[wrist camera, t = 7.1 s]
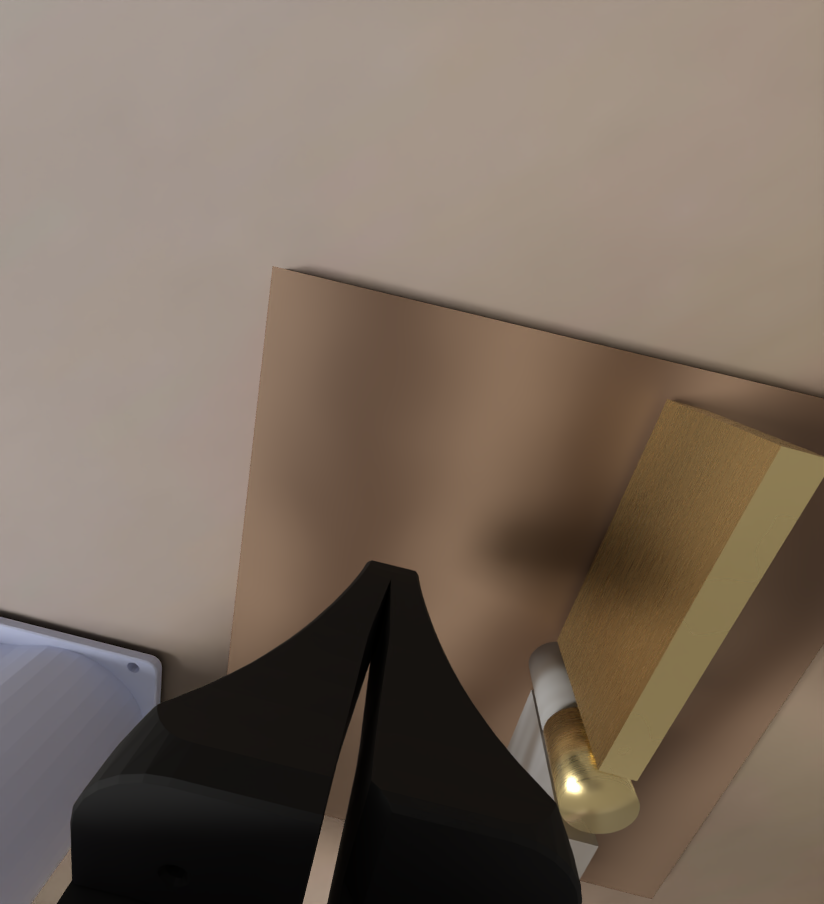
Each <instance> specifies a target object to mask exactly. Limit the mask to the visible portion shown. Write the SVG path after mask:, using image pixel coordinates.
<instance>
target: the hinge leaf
mask: <svg viewBox="0 0 824 904" xmlns="http://www.w3.org/2000/svg"><path fill="white" fill-rule="evenodd" d="M823 478H824V456H822V455H819V454H817V453H814V452H812V451H809V450H807V449H804V448H801V447H799V446H796V445H794V444H791V443H789V442H786V441H784V440H781V439H779V438H776V437H773V436H771V435H768V434H766V433H763V432H761V431H758V430H756V429H753V428H750V427H748V426H745V425H743V424H740V423H738V422H735V421H733V420H730V419H728V418H725V417H722V416H720V415H717V414H715V413H712V412H710V411H707V410H705V409H702V408H699V407H695V406H691V405H687V404H684V403H680V402H676V401H673V400H669V399H667V401H666V403H665V405H664V407H663V409H662V412H661V414H660V416H659V418H658V420H657V423H656V425H655V427H654V429H653V431H652V434H651V436H650V438H649V440H648V442H647V445H646V447H645V449H644V451H643V453H642V456H641V458H640V460H639V462H638V464H637V466H636V469H635V471H634V473H633V475H632V477H631V480H630V482H629V484H628V486H627V488H626V491H625V493H624V495H623V497H622V499H621V502H620V504H619V506H618V508H617V510H616V513H615V515H614V517H613V519H612V521H611V523H610V526H609V528H608V530H607V532H606V534H605V537H604V539H603V541H602V543H601V545H600V548H599V550H598V552H597V554H596V556H595V559H594V561H593V563H592V565H591V567H590V570H589V572H588V574H587V576H586V578H585V580H584V583H583V585H582V587H581V589H580V591H579V594H578V596H577V598H576V600H575V602H574V605H573V607H572V609H571V611H570V613H569V616H568V618H567V620H566V622H565V624H564V627H563V629H562V631H561V633H560V635H559V637H558V640H557V642H558V645H559V648H560V652H561V655H562V658H563V661H564V664H565V667H566V671H567V674H568V677H569V680H570V683H571V686H572V689H573V693H574V696H575V699H576V702H577V705H578V707H571V708H566V709H563V710H560V711H558V712H556V713H555V714H553V715H552V716H551V717H550V718H549V719H548V720H547V722H546V723H545V726H544V729H543V735H544V740H545V745H546V749H547V754H548V759H549V763H550V768H551V773H552V777H553V782H554V787H555V791H556V796H557V800H558V805H559V810H560V813H561V815H562V817H563V819H564V820H565V821H566V822H567V823H568V824H569V825H571V826H572V827H574V828H576V829H578V830H580V831H583V832H587V833H593V834H607V833H612V832H616V831H619V830H622V829H624V828H626V827H627V826H629V825H630V824H631V823H632V822H633V821H634V820H635V819H636V818H637V816H638V814H639V810H640V803H639V800H638V797H637V794H636V792H635V789H634V787H633V784H632V781H631V780H634V781H637V780H638V779H639V777H640V776H641V774H642V772H643V771H644V769H645V767H646V766H647V764H648V763H649V761H650V759H651V758H652V756H653V754H654V753H655V751H656V750H657V748H658V746H659V745H660V743H661V741H662V740H663V738H664V736H665V735H666V733H667V732H668V730H669V728H670V727H671V725H672V723H673V722H674V720H675V719H676V717H677V715H678V714H679V712H680V710H681V709H682V707H683V706H684V704H685V702H686V701H687V699H688V697H689V696H690V694H691V693H692V691H693V689H694V688H695V686H696V684H697V683H698V681H699V679H700V678H701V676H702V675H703V673H704V671H705V670H706V668H707V666H708V665H709V663H710V662H711V660H712V658H713V657H714V655H715V653H716V652H717V650H718V649H719V647H720V645H721V644H722V642H723V640H724V639H725V637H726V636H727V634H728V632H729V631H730V629H731V627H732V626H733V624H734V623H735V621H736V619H737V618H738V616H739V614H740V613H741V611H742V609H743V608H744V606H745V605H746V603H747V601H748V600H749V598H750V596H751V595H752V593H753V592H754V590H755V588H756V587H757V585H758V583H759V582H760V580H761V579H762V577H763V575H764V574H765V572H766V570H767V569H768V567H769V566H770V564H771V562H772V561H773V559H774V557H775V556H776V554H777V552H778V551H779V549H780V548H781V546H782V544H783V543H784V541H785V539H786V538H787V536H788V535H789V533H790V531H791V530H792V528H793V526H794V525H795V523H796V522H797V520H798V518H799V517H800V515H801V513H802V512H803V510H804V509H805V507H806V505H807V504H808V502H809V500H810V499H811V497H812V496H813V494H814V492H815V491H816V489H817V487H818V486H819V484H820V482H821V481H822V479H823Z"/></svg>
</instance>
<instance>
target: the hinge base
mask: <svg viewBox="0 0 824 904" xmlns="http://www.w3.org/2000/svg"><path fill="white" fill-rule="evenodd" d="M667 399H669V400H673V401H676V402H680V403H684V404H687V405H691V406H695V407H699V408H702V409H705V410H707V411H710V412H712V413H715V414H717V415H720V416H722V417H725V418H728V419H730V420H733V421H735V422H738V423H740V424H743V425H745V426H748V427H750V428H753V429H756V430H758V431H761V432H763V433H766V434H768V435H771V436H773V437H776V438H779V439H781V440H784V441H786V442H789V443H791V444H794V445H796V446H799V447H801V448H804V449H807V450H809V451H812V452H814V453H817V454H819V455H822V456H824V398H819V397H815V396H811V395H807V394H803V393H799V392H794V391H790V390H786V389H782V388H778V387H774V386H769V385H765V384H761V383H757V382H753V381H749V380H744V379H740V378H736V377H732V376H728V375H724V374H719V373H715V372H711V371H707V370H703V369H699V368H694V367H690V366H686V365H682V364H678V363H674V362H669V361H665V360H661V359H657V358H653V357H649V356H644V355H640V354H636V353H632V352H628V351H624V350H620V349H615V348H611V347H607V346H603V345H599V344H595V343H590V342H586V341H582V340H578V339H574V338H570V337H565V336H561V335H557V334H553V333H549V332H545V331H540V330H536V329H532V328H528V327H524V326H520V325H515V324H511V323H507V322H503V321H499V320H495V319H490V318H486V317H482V316H478V315H474V314H470V313H465V312H461V311H457V310H453V309H449V308H445V307H440V306H436V305H432V304H428V303H424V302H420V301H415V300H411V299H407V298H403V297H399V296H395V295H391V294H386V293H382V292H378V291H374V290H370V289H366V288H361V287H357V286H353V285H349V284H345V283H341V282H336V281H332V280H328V279H324V278H320V277H316V276H311V275H307V274H303V273H299V272H295V271H291V270H286V269H282V268H278V267H274V266H273V268H272V277H271V286H270V295H269V303H268V312H267V321H266V330H265V339H264V348H263V357H262V366H261V375H260V384H259V393H258V401H257V410H256V419H255V428H254V437H253V446H252V455H251V464H250V473H249V482H248V491H247V499H246V508H245V517H244V526H243V535H242V544H241V553H240V562H239V571H238V580H237V589H236V598H235V606H234V615H233V624H232V633H231V642H230V651H229V660H228V669H227V675H228V674H230V673H232V672H234V671H236V670H238V669H240V668H242V667H244V666H246V665H248V664H249V663H251V662H253V661H255V660H256V659H258V658H260V657H261V656H263V655H265V654H266V653H268V652H269V651H271V650H273V649H274V648H276V647H277V646H279V645H280V644H282V643H283V642H285V641H286V640H288V639H289V638H291V637H292V636H293V635H295V634H296V633H297V632H299V631H300V630H301V629H303V628H304V627H305V626H307V625H308V624H309V623H310V622H312V621H313V620H314V619H315V618H316V617H317V616H318V615H320V614H321V613H322V612H323V611H324V610H325V609H326V608H327V607H329V606H330V605H331V604H332V603H333V602H334V601H335V600H336V599H337V598H338V597H339V596H340V595H341V594H342V593H343V592H344V591H345V590H346V589H347V588H348V586H349V585H350V584H351V583H352V582H353V581H354V580H355V578H356V577H357V576H358V575H359V573H360V572H361V571H362V569H363V568H364V566H365V565H366V563H367V562H369V561H371V560H373V561H377V562H381V563H385V564H390V565H394V566H398V567H402V568H406V569H410V570H414V571H416V572H417V574H418V575H419V581H420V586H421V590H422V594H423V598H424V601H425V604H426V607H427V610H428V613H429V616H430V619H431V621H432V624H433V627H434V629H435V632H436V634H437V637H438V639H439V641H440V644H441V646H442V648H443V650H444V652H445V655H446V657H447V659H448V661H449V663H450V665H451V667H452V668H453V670H454V672H455V674H456V676H457V678H458V679H459V681H460V683H461V685H462V686H463V688H464V690H465V691H466V693H467V694H468V696H469V698H470V699H471V701H472V703H473V704H474V705H475V707H476V708H477V710H478V711H479V712H480V714H481V715H482V717H483V718H484V720H485V721H486V722H487V724H488V725H489V727H490V728H491V729H492V731H493V732H494V733H495V735H496V736H497V737H498V738H499V740H500V741H501V742H502V743H503V745H504V746H505V747H506V748H507V749H508V751H509V752H510V753H511V754H512V755H513V757H514V758H515V759H516V760H517V761H518V763H519V764H520V765H521V766H522V767H523V768H524V769H525V770H526V771H527V772H528V773H529V774H530V775H531V776H532V778H533V779H534V780H535V781H536V782H537V783H538V784H539V785H540V786H541V787H542V788H543V789H544V790H545V791H546V792H547V794H548V795H549V796H550V797H551V798H552V799H553V800H554V801H555V802H556V803H557V806H558V809H559V805H558V800H557V796H556V791H555V787H554V782H553V777H552V773H551V768H550V763H549V759H548V754H547V749H546V745H545V740H544V735H543V729H544V726H545V723H546V722H547V720H548V719H549V718H550V717H551V716H552V715H553V714H555V713H556V712H558V711H560V710H563V709H566V708H571V707H578V705H577V702H576V699H575V696H574V693H573V689H572V686H571V683H570V680H569V677H568V674H567V671H566V667H565V664H564V661H563V658H562V655H561V652H560V648H559V645H558V642H557V640H558V637H559V635H560V633H561V631H562V629H563V627H564V624H565V622H566V620H567V618H568V616H569V613H570V611H571V609H572V607H573V605H574V602H575V600H576V598H577V596H578V594H579V591H580V589H581V587H582V585H583V583H584V580H585V578H586V576H587V574H588V572H589V570H590V567H591V565H592V563H593V561H594V559H595V556H596V554H597V552H598V550H599V548H600V545H601V543H602V541H603V539H604V537H605V534H606V532H607V530H608V528H609V526H610V523H611V521H612V519H613V517H614V515H615V513H616V510H617V508H618V506H619V504H620V502H621V499H622V497H623V495H624V493H625V491H626V488H627V486H628V484H629V482H630V480H631V477H632V475H633V473H634V471H635V469H636V466H637V464H638V462H639V460H640V458H641V456H642V453H643V451H644V449H645V447H646V445H647V442H648V440H649V438H650V436H651V434H652V431H653V429H654V427H655V425H656V423H657V420H658V418H659V416H660V414H661V412H662V409H663V407H664V405H665V403H666V401H667ZM823 644H824V478H823V479H822V481H821V482H820V484H819V486H818V487H817V489H816V491H815V492H814V494H813V496H812V497H811V499H810V500H809V502H808V504H807V505H806V507H805V509H804V510H803V512H802V513H801V515H800V517H799V518H798V520H797V522H796V523H795V525H794V526H793V528H792V530H791V531H790V533H789V535H788V536H787V538H786V539H785V541H784V543H783V544H782V546H781V548H780V549H779V551H778V552H777V554H776V556H775V557H774V559H773V561H772V562H771V564H770V566H769V567H768V569H767V570H766V572H765V574H764V575H763V577H762V579H761V580H760V582H759V583H758V585H757V587H756V588H755V590H754V592H753V593H752V595H751V596H750V598H749V600H748V601H747V603H746V605H745V606H744V608H743V609H742V611H741V613H740V614H739V616H738V618H737V619H736V621H735V623H734V624H733V626H732V627H731V629H730V631H729V632H728V634H727V636H726V637H725V639H724V640H723V642H722V644H721V645H720V647H719V649H718V650H717V652H716V653H715V655H714V657H713V658H712V660H711V662H710V663H709V665H708V666H707V668H706V670H705V671H704V673H703V675H702V676H701V678H700V679H699V681H698V683H697V684H696V686H695V688H694V689H693V691H692V693H691V694H690V696H689V697H688V699H687V701H686V702H685V704H684V706H683V707H682V709H681V710H680V712H679V714H678V715H677V717H676V719H675V720H674V722H673V723H672V725H671V727H670V728H669V730H668V732H667V733H666V735H665V736H664V738H663V740H662V741H661V743H660V745H659V746H658V748H657V750H656V751H655V753H654V754H653V756H652V758H651V759H650V761H649V763H648V764H647V766H646V767H645V769H644V771H643V772H642V774H641V776H640V777H639V779H638V780H637V781H634V780H631V781H632V784H633V787H634V789H635V792H636V794H637V797H638V800H639V803H640V810H639V814H638V816H637V818H636V819H635V820H634V821H633V822H632V823H631V824H630V825H629V826H627V827H626V828H624V829H622V830H619V831H616V832H612V833H607V834H593V833H587V832H583V831H580V830H578V829H576V828H574V827H572V826H571V825H569V824H568V823H567V822H566V821H565V820H564V819H563V817H562V815H561V813H560V815H561V818H562V821H563V823H564V826H565V829H566V832H567V835H568V838H569V842H570V845H571V848H572V851H573V855H574V858H575V863H576V867H577V871H578V876H579V880H580V881H584V882H587V883H591V884H595V885H599V886H603V887H607V888H611V889H615V890H619V891H623V892H626V893H630V894H634V895H638V896H642V897H646V898H650V899H652V898H653V897H654V895H655V894H656V892H657V891H658V889H659V888H660V886H661V885H662V883H663V882H664V880H665V879H666V877H667V876H668V874H669V873H670V871H671V870H672V868H673V867H674V865H675V864H676V862H677V861H678V859H679V858H680V856H681V855H682V853H683V852H684V850H685V849H686V848H687V846H688V845H689V843H690V842H691V840H692V839H693V837H694V836H695V834H696V833H697V831H698V830H699V828H700V827H701V825H702V824H703V822H704V821H705V819H706V818H707V816H708V815H709V813H710V812H711V810H712V809H713V807H714V806H715V804H716V803H717V801H718V800H719V798H720V797H721V795H722V794H723V792H724V791H725V789H726V788H727V787H728V785H729V784H730V782H731V781H732V779H733V778H734V776H735V775H736V773H737V772H738V770H739V769H740V767H741V766H742V764H743V763H744V761H745V760H746V758H747V757H748V755H749V754H750V752H751V751H752V749H753V748H754V746H755V745H756V743H757V742H758V740H759V739H760V737H761V736H762V734H763V733H764V731H765V730H766V728H767V727H768V726H769V724H770V723H771V721H772V720H773V718H774V717H775V715H776V714H777V712H778V711H779V709H780V708H781V706H782V705H783V703H784V702H785V700H786V699H787V697H788V696H789V694H790V693H791V691H792V690H793V688H794V687H795V685H796V684H797V682H798V681H799V679H800V678H801V676H802V675H803V673H804V672H805V670H806V669H807V667H808V666H809V665H810V663H811V662H812V660H813V659H814V657H815V656H816V654H817V653H818V651H819V650H820V648H821V647H822V645H823ZM369 667H370V664H369ZM369 667H368V670H367V673H366V676H365V679H364V682H363V685H362V688H361V691H360V694H359V697H358V700H357V703H356V706H355V709H354V712H353V715H352V718H351V721H350V724H349V727H348V730H347V733H346V736H345V739H344V742H343V745H342V748H341V752H340V755H339V759H338V762H337V766H336V770H335V774H334V778H333V782H332V786H331V790H330V794H329V798H328V802H327V806H326V810H325V814H324V815H326V816H330V817H334V818H338V819H342V820H345V818H346V814H347V809H348V804H349V799H350V795H351V790H352V785H353V780H354V776H355V771H356V765H357V759H358V753H359V746H360V738H361V730H362V722H363V714H364V706H365V698H366V690H367V683H368V675H369ZM559 812H560V810H559Z"/></svg>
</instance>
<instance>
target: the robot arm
mask: <svg viewBox="0 0 824 904" xmlns="http://www.w3.org/2000/svg"><path fill="white" fill-rule="evenodd" d="M369 664H370V667H369ZM368 667H369V675H368V683H367V690H366V698H365V706H364V714H363V722H362V730H361V738H360V746H359V753H358V759H357V765H356V771H355V776H354V780H353V785H352V790H351V795H350V799H349V804H348V809H347V814H346V818H345V823H344V828H343V832H342V837H341V842H340V846H339V851H338V856H337V861H336V865H335V870H334V875H333V879H332V884H331V889H330V893H329V898H328V903H327V904H582V895H581V884H580V880H579V876H578V871H577V867H576V863H575V858H574V855H573V851H572V848H571V845H570V842H569V838H568V835H567V832H566V829H565V826H564V823H563V821H562V818H561V815H560V812H559V809H558V806H557V803H556V802H555V801H554V800H553V799H552V798H551V797H550V796H549V795H548V794H547V792H546V791H545V790H544V789H543V788H542V787H541V786H540V785H539V784H538V783H537V782H536V781H535V780H534V779H533V778H532V776H531V775H530V774H529V773H528V772H527V771H526V770H525V769H524V768H523V767H522V766H521V765H520V764H519V763H518V761H517V760H516V759H515V758H514V757H513V755H512V754H511V753H510V752H509V751H508V749H507V748H506V747H505V746H504V745H503V743H502V742H501V741H500V740H499V738H498V737H497V736H496V735H495V733H494V732H493V731H492V729H491V728H490V727H489V725H488V724H487V722H486V721H485V720H484V718H483V717H482V715H481V714H480V712H479V711H478V710H477V708H476V707H475V705H474V704H473V703H472V701H471V699H470V698H469V696H468V694H467V693H466V691H465V690H464V688H463V686H462V685H461V683H460V681H459V679H458V678H457V676H456V674H455V672H454V670H453V668H452V667H451V665H450V663H449V661H448V659H447V657H446V655H445V652H444V650H443V648H442V646H441V644H440V641H439V639H438V637H437V634H436V632H435V629H434V627H433V624H432V621H431V619H430V616H429V613H428V610H427V607H426V604H425V601H424V598H423V594H422V590H421V586H420V581H419V575H418V574H417V572H416V571H414V570H410V569H406V568H402V567H398V566H394V565H390V564H385V563H381V562H377V561H373V560H371V561H369V562H367V563H366V565H365V566H364V568H363V569H362V571H361V572H360V573H359V575H358V576H357V577H356V578H355V580H354V581H353V582H352V583H351V584H350V585H349V586H348V588H347V589H346V590H345V591H344V592H343V593H342V594H341V595H340V596H339V597H338V598H337V599H336V600H335V601H334V602H333V603H332V604H331V605H330V606H329V607H327V608H326V609H325V610H324V611H323V612H322V613H321V614H320V615H318V616H317V617H316V618H315V619H314V620H313V621H312V622H310V623H309V624H308V625H307V626H305V627H304V628H303V629H301V630H300V631H299V632H297V633H296V634H295V635H293V636H292V637H291V638H289V639H288V640H286V641H285V642H283V643H282V644H280V645H279V646H277V647H276V648H274V649H273V650H271V651H269V652H268V653H266V654H265V655H263V656H261V657H260V658H258V659H256V660H255V661H253V662H251V663H249V664H248V665H246V666H244V667H242V668H240V669H238V670H236V671H234V672H232V673H230V674H228V675H226V676H224V677H222V678H220V679H219V680H217V681H214V682H212V683H210V684H208V685H206V686H204V687H201V688H199V689H196V690H194V691H191V692H189V693H186V694H184V695H181V696H179V697H176V698H174V699H171V700H169V701H166V702H163V703H160V696H161V676H162V665H161V662H160V660H159V659H158V658H157V657H155V656H153V655H150V654H146V653H142V652H138V651H134V650H130V649H126V648H122V647H118V646H114V645H110V644H106V643H102V642H98V641H94V640H90V639H86V638H83V637H79V636H75V635H71V634H67V633H63V632H59V631H55V630H51V629H47V628H43V627H39V626H35V625H31V624H27V623H23V622H19V621H15V620H11V619H7V618H3V617H0V904H31V903H32V902H33V900H34V899H35V897H36V896H37V895H38V893H39V892H40V890H41V889H42V888H43V886H44V885H45V883H46V882H47V881H48V879H49V878H50V876H51V875H52V873H53V872H54V871H55V869H56V868H57V866H58V865H59V864H60V862H61V861H62V859H63V858H64V857H65V855H66V854H67V852H68V851H69V850H70V848H71V859H72V881H71V883H70V884H69V886H68V887H67V889H66V890H65V892H64V893H63V895H62V896H61V898H60V899H59V901H58V903H57V904H303V900H304V896H305V891H306V887H307V883H308V879H309V875H310V871H311V867H312V863H313V859H314V855H315V851H316V847H317V843H318V839H319V835H320V831H321V826H322V822H323V818H324V814H325V810H326V806H327V802H328V798H329V794H330V790H331V786H332V782H333V778H334V774H335V770H336V766H337V762H338V759H339V755H340V752H341V748H342V745H343V742H344V739H345V736H346V733H347V730H348V727H349V724H350V721H351V718H352V715H353V712H354V709H355V706H356V703H357V700H358V697H359V694H360V691H361V688H362V685H363V682H364V679H365V676H366V673H367V670H368Z"/></svg>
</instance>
